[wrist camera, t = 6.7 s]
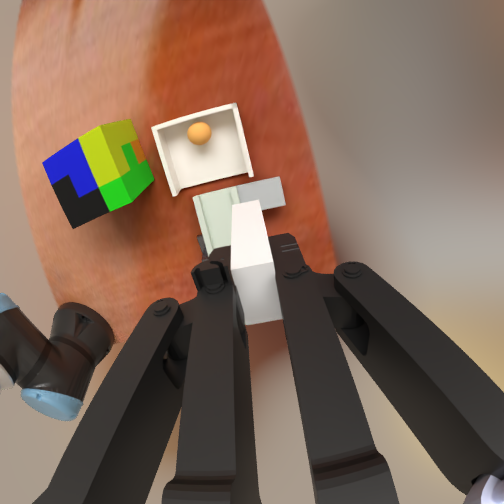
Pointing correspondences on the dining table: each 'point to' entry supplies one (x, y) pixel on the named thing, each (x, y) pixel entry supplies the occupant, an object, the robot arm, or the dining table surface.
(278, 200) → the lever
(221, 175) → the tray
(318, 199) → the dining table surface
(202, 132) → the ball
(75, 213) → the puzzle toy
